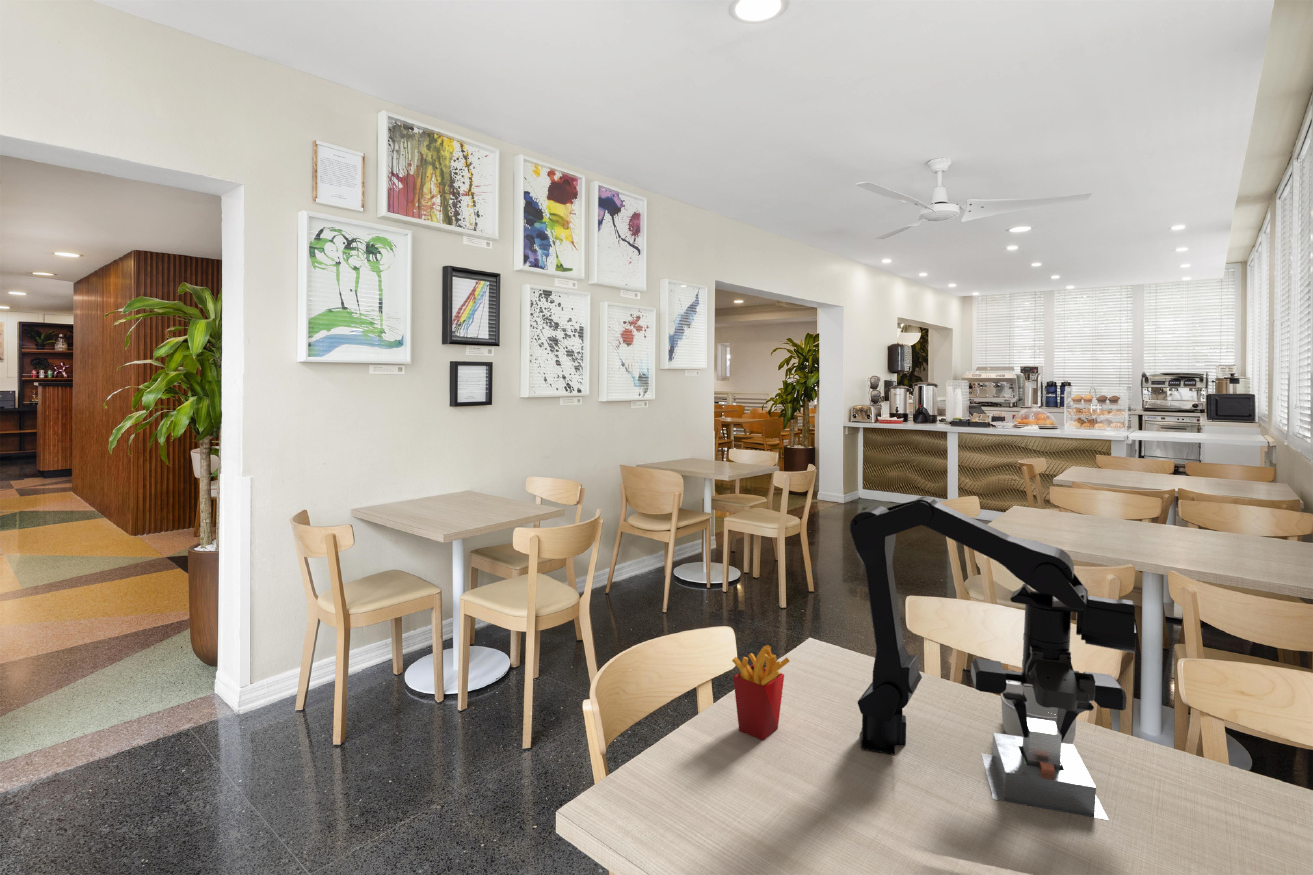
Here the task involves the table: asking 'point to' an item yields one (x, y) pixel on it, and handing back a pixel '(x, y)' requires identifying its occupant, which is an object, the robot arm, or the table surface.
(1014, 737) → the housing
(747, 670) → the french fries
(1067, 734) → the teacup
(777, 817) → the table surface
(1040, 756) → the column
